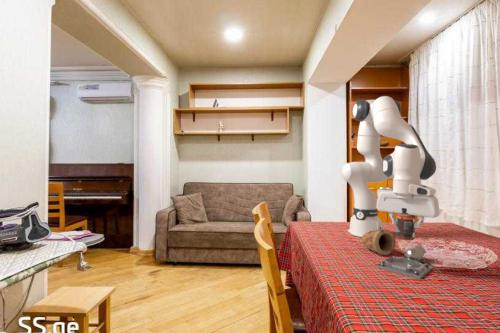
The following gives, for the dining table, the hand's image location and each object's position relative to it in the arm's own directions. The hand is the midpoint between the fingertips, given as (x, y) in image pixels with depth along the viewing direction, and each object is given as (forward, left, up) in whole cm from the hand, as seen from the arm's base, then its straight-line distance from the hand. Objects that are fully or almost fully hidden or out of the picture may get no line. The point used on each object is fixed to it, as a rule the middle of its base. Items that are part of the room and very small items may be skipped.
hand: (405, 226), depth 105 cm
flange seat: (-5, 0, -15) cm, 16 cm away
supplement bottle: (0, 0, -5) cm, 5 cm away
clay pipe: (-16, -16, -16) cm, 27 cm away
